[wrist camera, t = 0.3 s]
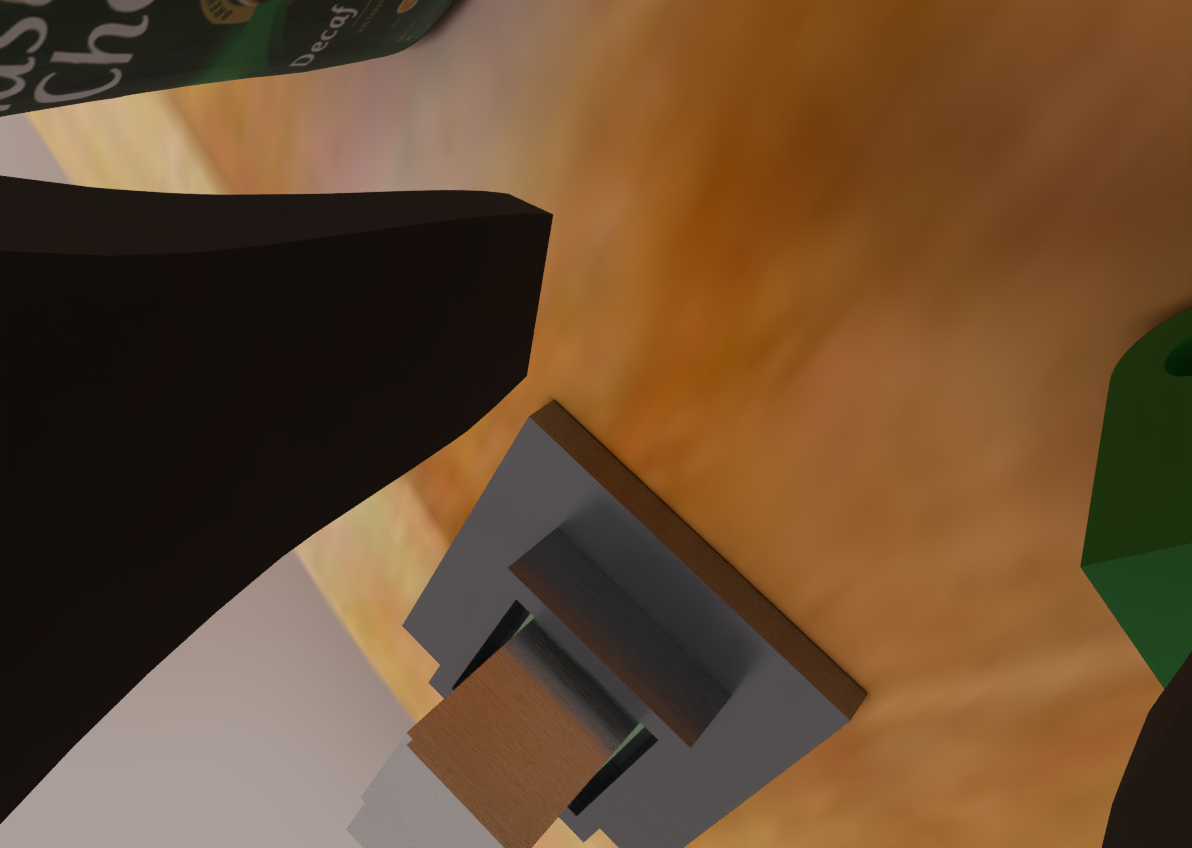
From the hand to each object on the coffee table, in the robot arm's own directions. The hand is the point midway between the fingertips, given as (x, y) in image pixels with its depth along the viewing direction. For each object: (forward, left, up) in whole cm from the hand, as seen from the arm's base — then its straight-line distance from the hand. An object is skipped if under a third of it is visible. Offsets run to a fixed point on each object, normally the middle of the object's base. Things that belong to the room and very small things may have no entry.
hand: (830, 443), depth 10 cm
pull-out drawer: (-13, +10, -9) cm, 19 cm away
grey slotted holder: (-13, +10, -10) cm, 19 cm away
